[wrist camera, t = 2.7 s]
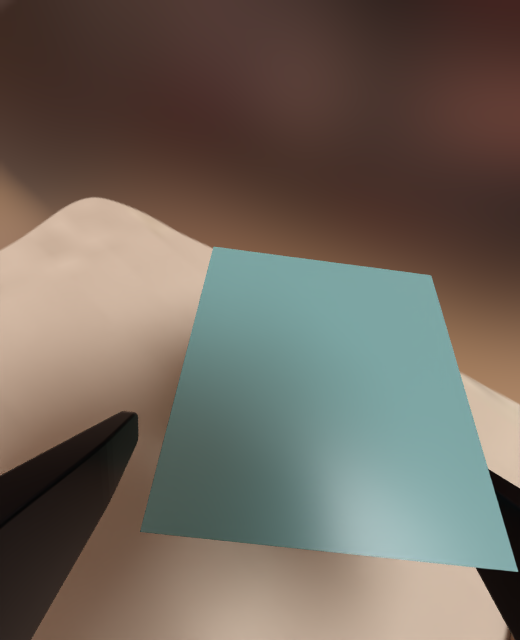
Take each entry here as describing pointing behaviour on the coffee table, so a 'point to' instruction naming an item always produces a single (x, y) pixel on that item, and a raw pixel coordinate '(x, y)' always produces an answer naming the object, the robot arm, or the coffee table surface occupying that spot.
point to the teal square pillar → (325, 419)
